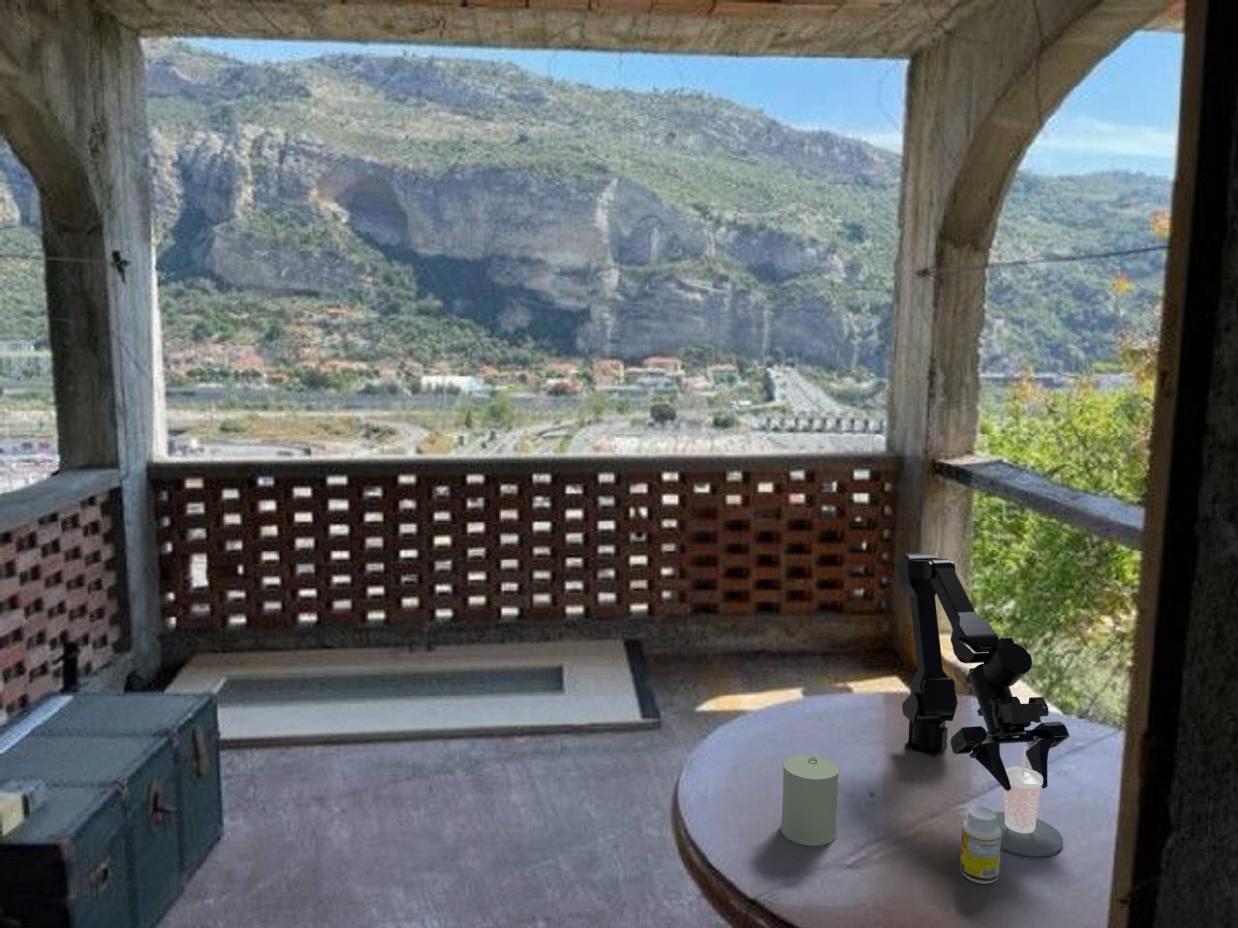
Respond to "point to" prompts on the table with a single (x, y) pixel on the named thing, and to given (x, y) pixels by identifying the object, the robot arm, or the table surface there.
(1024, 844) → the coaster
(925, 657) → the robot arm
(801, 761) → the can
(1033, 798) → the beverage cup
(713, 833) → the table surface
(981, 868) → the supplement bottle
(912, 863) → the table surface
